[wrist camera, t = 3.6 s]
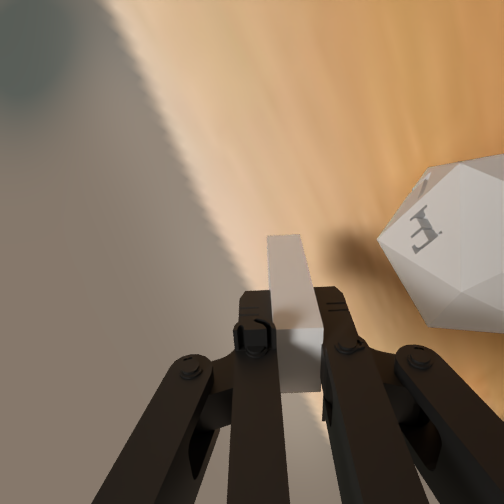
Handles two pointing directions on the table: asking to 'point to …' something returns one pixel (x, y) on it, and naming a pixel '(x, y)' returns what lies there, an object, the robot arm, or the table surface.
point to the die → (453, 245)
